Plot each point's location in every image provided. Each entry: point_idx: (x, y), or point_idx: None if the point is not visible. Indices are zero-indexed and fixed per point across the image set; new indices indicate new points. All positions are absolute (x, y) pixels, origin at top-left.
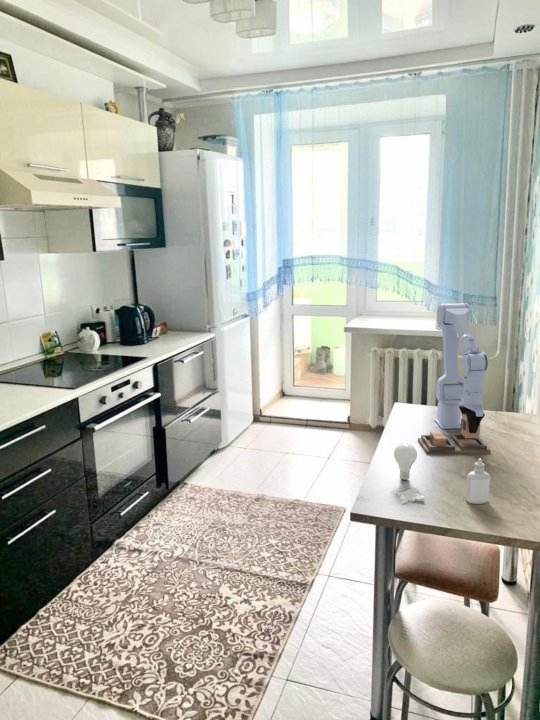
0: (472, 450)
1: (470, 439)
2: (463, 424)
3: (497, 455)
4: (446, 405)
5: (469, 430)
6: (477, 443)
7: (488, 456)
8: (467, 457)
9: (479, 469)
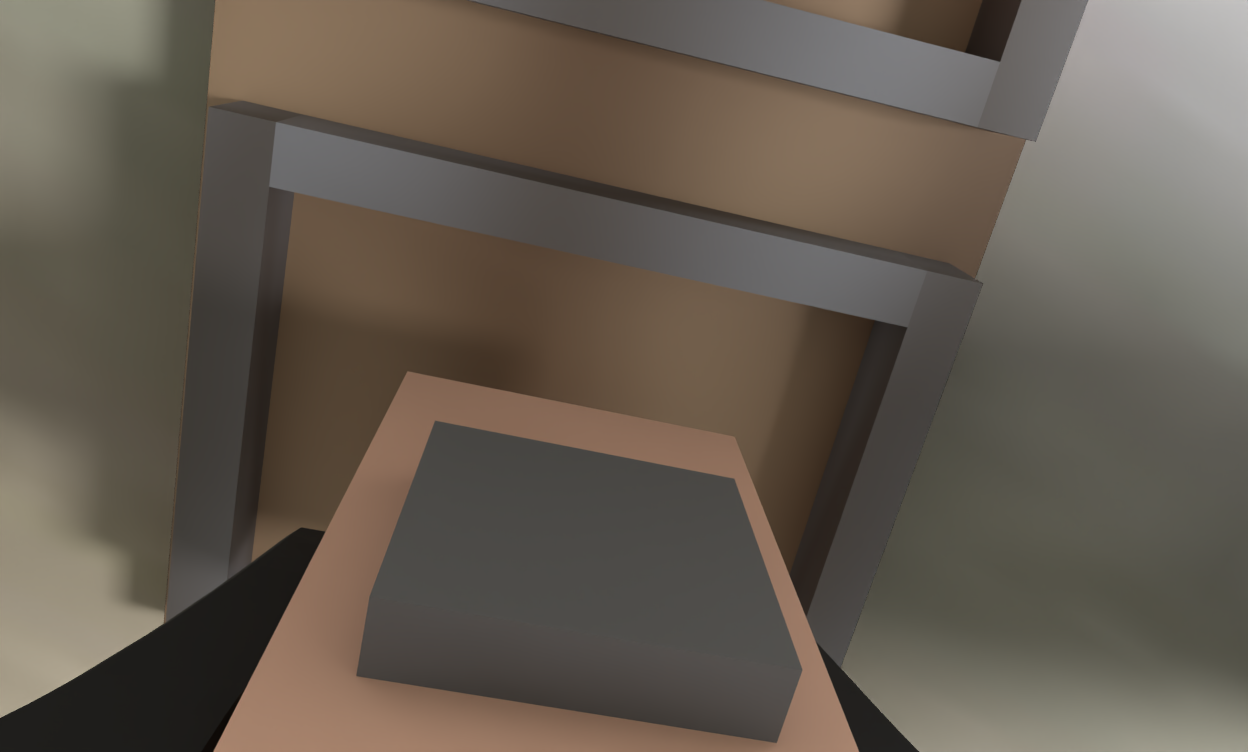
0: (188, 334)
1: None
2: (448, 526)
3: (70, 674)
4: None
5: (268, 555)
6: None
7: (39, 519)
8: (20, 106)
9: None
